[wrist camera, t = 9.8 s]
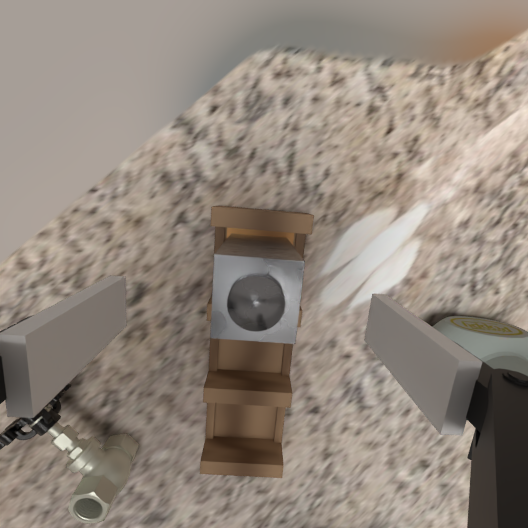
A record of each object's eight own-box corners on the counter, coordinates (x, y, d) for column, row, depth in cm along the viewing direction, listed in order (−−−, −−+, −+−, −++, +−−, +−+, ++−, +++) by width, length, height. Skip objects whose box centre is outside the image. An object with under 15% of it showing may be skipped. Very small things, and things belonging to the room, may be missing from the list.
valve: (157, 442, 32) (77, 367, 29) (131, 504, 25) (25, 415, 23) (115, 473, 32) (33, 402, 30) (79, 541, 26) (-28, 458, 24)
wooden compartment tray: (207, 439, 31) (200, 473, 27) (218, 205, 26) (211, 206, 22) (279, 443, 32) (281, 477, 28) (305, 213, 26) (313, 215, 22)
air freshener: (393, 381, 30) (457, 467, 21) (409, 308, 28) (488, 365, 19) (491, 388, 31) (600, 476, 21) (514, 317, 29) (644, 377, 19)
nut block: (228, 287, 26) (208, 343, 16) (231, 233, 25) (212, 256, 15) (281, 290, 26) (296, 349, 16) (287, 238, 25) (306, 264, 15)
